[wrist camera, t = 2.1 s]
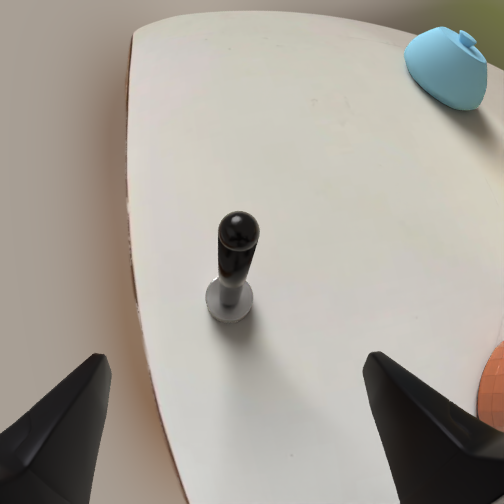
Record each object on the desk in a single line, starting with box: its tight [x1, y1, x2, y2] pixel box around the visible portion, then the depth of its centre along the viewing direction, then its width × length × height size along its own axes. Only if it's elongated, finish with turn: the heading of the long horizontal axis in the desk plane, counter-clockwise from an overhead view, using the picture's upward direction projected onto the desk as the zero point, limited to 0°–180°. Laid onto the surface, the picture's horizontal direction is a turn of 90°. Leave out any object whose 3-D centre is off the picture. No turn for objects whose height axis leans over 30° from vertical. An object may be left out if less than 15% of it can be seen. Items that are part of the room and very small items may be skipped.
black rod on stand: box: [206, 211, 260, 323], centre depth 16 cm, size 3×3×13 cm
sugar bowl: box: [404, 27, 487, 110], centre depth 31 cm, size 15×15×12 cm
